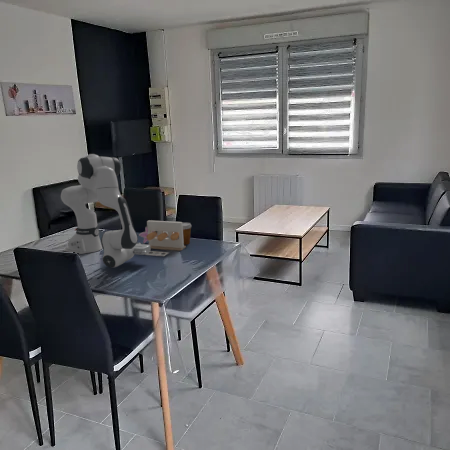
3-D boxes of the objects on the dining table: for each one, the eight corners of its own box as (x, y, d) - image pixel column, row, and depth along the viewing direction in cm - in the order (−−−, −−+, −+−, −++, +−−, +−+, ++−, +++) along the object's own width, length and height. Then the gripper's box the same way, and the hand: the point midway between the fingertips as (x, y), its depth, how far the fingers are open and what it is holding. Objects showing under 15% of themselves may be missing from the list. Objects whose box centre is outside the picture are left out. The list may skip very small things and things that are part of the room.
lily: (138, 242, 267) (134, 232, 260) (151, 232, 273) (148, 221, 267) (151, 251, 261) (148, 240, 255) (164, 240, 267) (162, 229, 261)
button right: (170, 240, 244) (170, 234, 243) (175, 237, 250) (174, 231, 249) (176, 240, 243) (175, 234, 242) (180, 237, 249) (180, 231, 248)
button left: (146, 240, 246) (146, 234, 245) (151, 237, 252) (151, 231, 251) (152, 240, 245) (151, 234, 244) (157, 237, 251) (156, 231, 250)
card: (145, 254, 240) (145, 253, 239) (150, 251, 245) (150, 250, 245) (164, 256, 236) (164, 255, 236) (168, 253, 241) (168, 252, 241)
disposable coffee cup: (188, 245, 253) (187, 226, 250) (174, 244, 256) (173, 225, 253) (194, 241, 262) (193, 222, 259) (180, 240, 265) (179, 221, 262)
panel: (147, 248, 252) (144, 222, 248) (152, 244, 258) (150, 219, 254) (180, 250, 245) (179, 223, 241) (185, 247, 251) (184, 221, 247)
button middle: (157, 240, 244) (157, 234, 243) (162, 237, 250) (162, 231, 249) (163, 241, 243) (162, 235, 242) (168, 238, 249) (167, 232, 248)
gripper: (142, 247, 218) (155, 239, 230) (108, 244, 224) (122, 237, 237) (143, 258, 219) (156, 250, 232) (109, 256, 226) (123, 248, 238)
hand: (139, 244), depth 234 cm, fingers closed
